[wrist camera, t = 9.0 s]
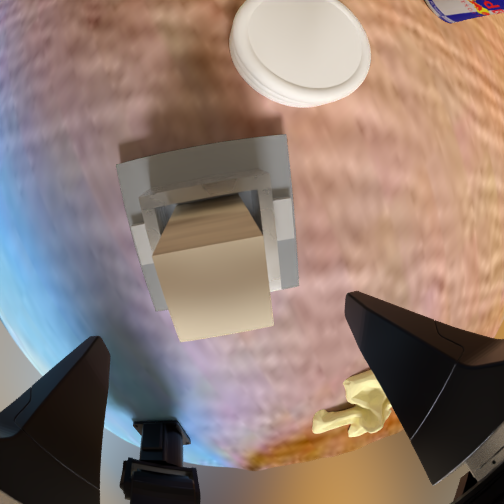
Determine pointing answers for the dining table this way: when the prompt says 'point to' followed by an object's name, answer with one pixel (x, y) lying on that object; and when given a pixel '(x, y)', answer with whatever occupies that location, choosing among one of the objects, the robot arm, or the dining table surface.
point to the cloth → (357, 407)
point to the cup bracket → (217, 185)
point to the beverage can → (464, 9)
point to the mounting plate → (208, 164)
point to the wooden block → (214, 269)
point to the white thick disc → (299, 50)
